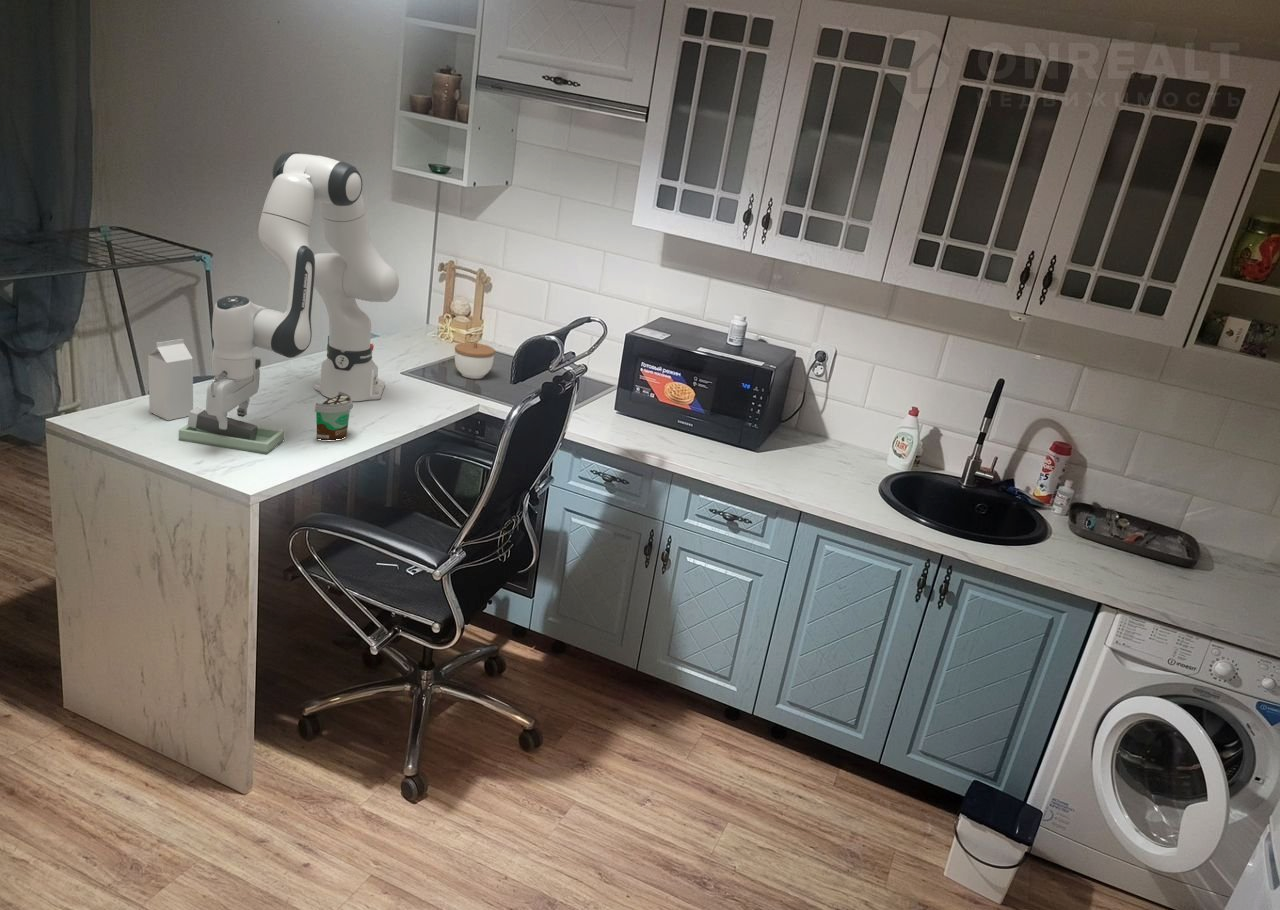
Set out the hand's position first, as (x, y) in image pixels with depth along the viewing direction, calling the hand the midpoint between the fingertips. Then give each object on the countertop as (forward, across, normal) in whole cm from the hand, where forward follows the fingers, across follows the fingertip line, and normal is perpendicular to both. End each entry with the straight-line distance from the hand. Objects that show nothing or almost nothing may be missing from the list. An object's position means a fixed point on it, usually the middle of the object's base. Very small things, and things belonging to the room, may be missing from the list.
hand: (233, 421), depth 227 cm
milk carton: (+5, +10, +20) cm, 23 cm away
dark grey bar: (+3, 0, +3) cm, 4 cm away
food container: (+5, +13, -21) cm, 25 cm away
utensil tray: (+5, 0, 0) cm, 5 cm away
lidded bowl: (+6, +83, -40) cm, 92 cm away
